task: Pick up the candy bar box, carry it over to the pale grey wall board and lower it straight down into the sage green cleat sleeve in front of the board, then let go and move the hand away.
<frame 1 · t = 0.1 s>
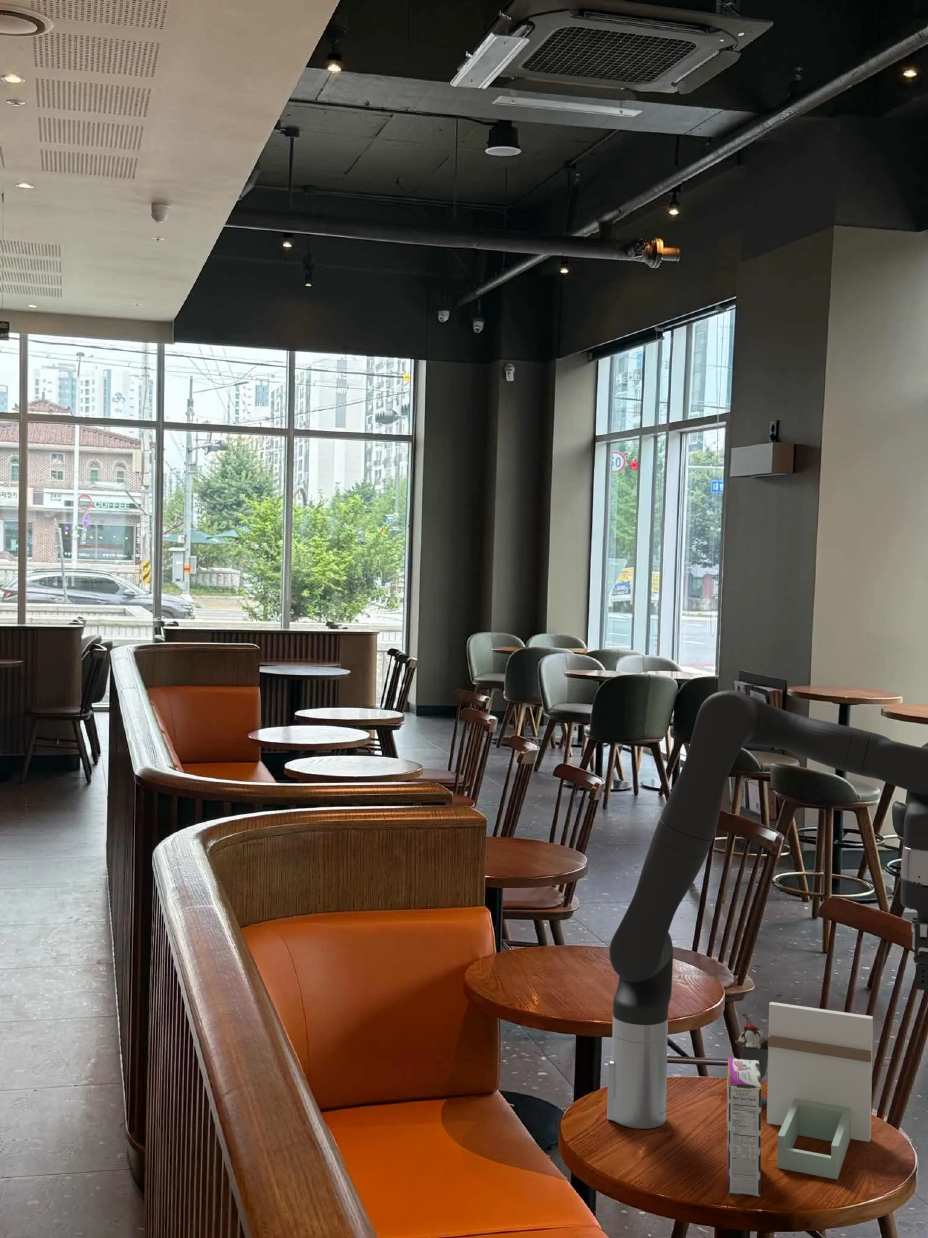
hand: (924, 982, 188), 29 cm above the table, tool pointing down, fingers open, 8 cm apart
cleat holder: (814, 1154, 193), on the table
candy bar box: (742, 1181, 184), on the table
sundae: (753, 1101, 215), on the table
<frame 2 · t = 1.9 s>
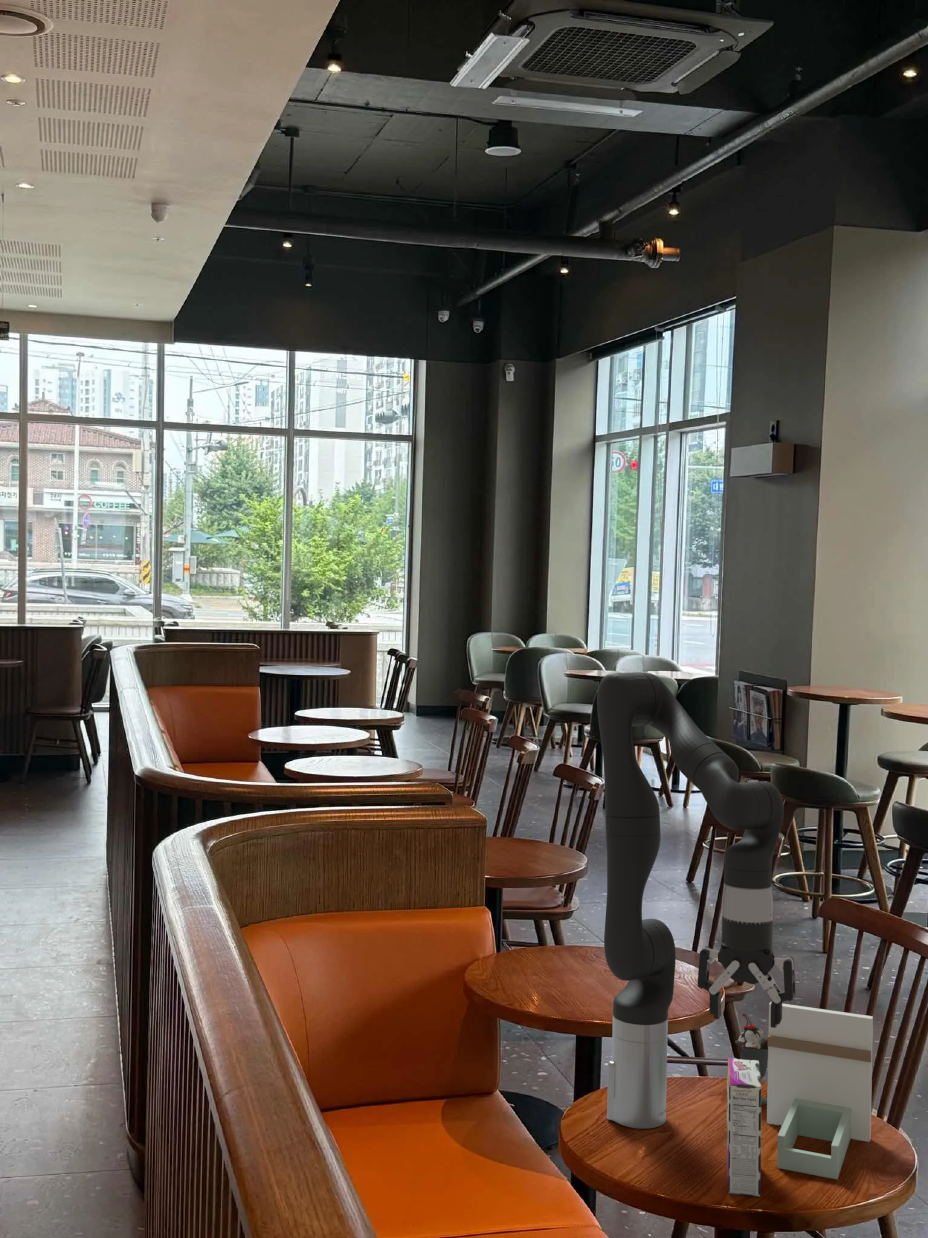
hand: (745, 1022, 184), 24 cm above the table, tool pointing down, fingers open, 8 cm apart
nothing on the table moved.
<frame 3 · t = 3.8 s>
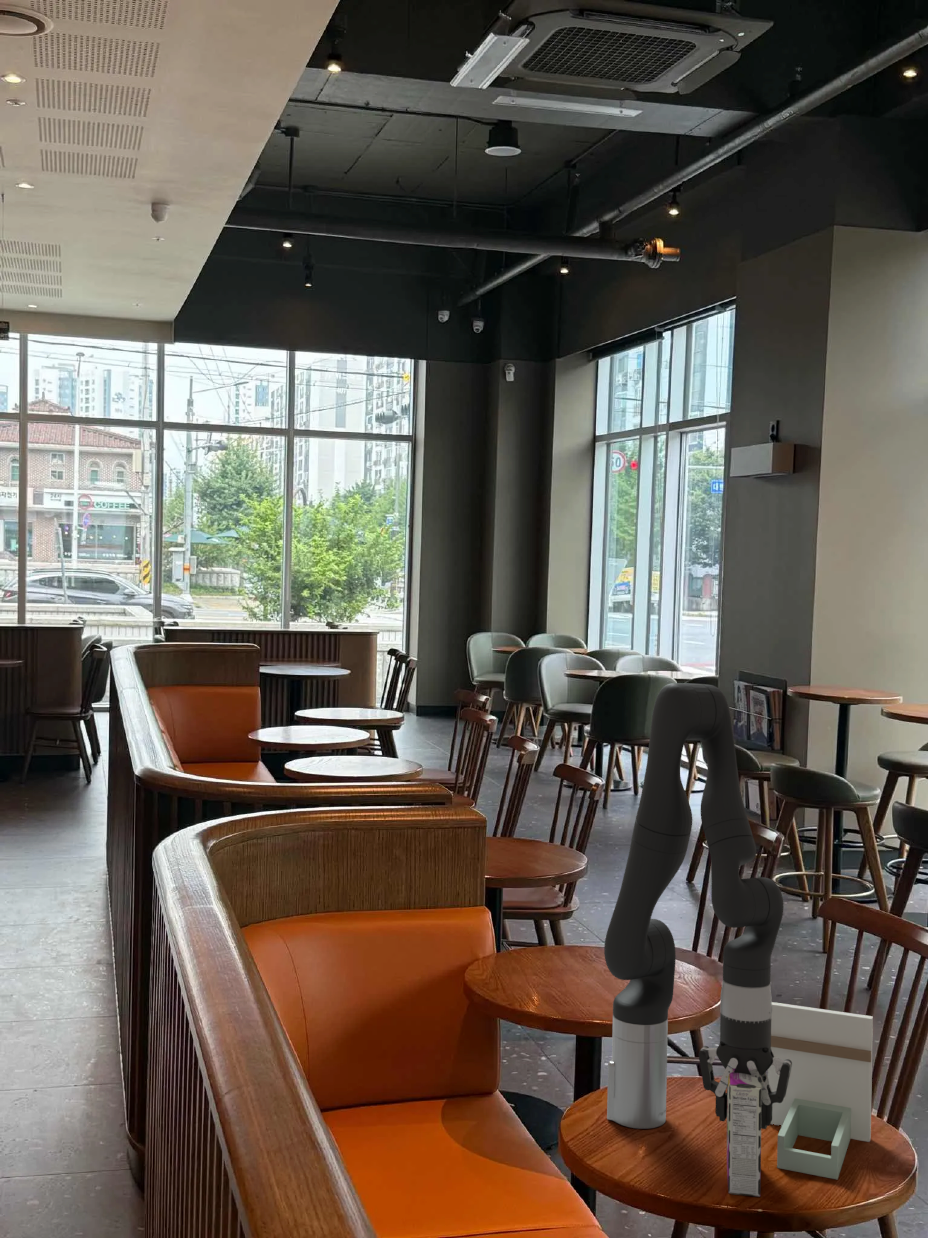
hand: (743, 1123, 184), 9 cm above the table, tool pointing down, fingers closed on candy bar box, 5 cm apart
candy bar box: (742, 1181, 184), on the table, touching gripper
everything else where it was.
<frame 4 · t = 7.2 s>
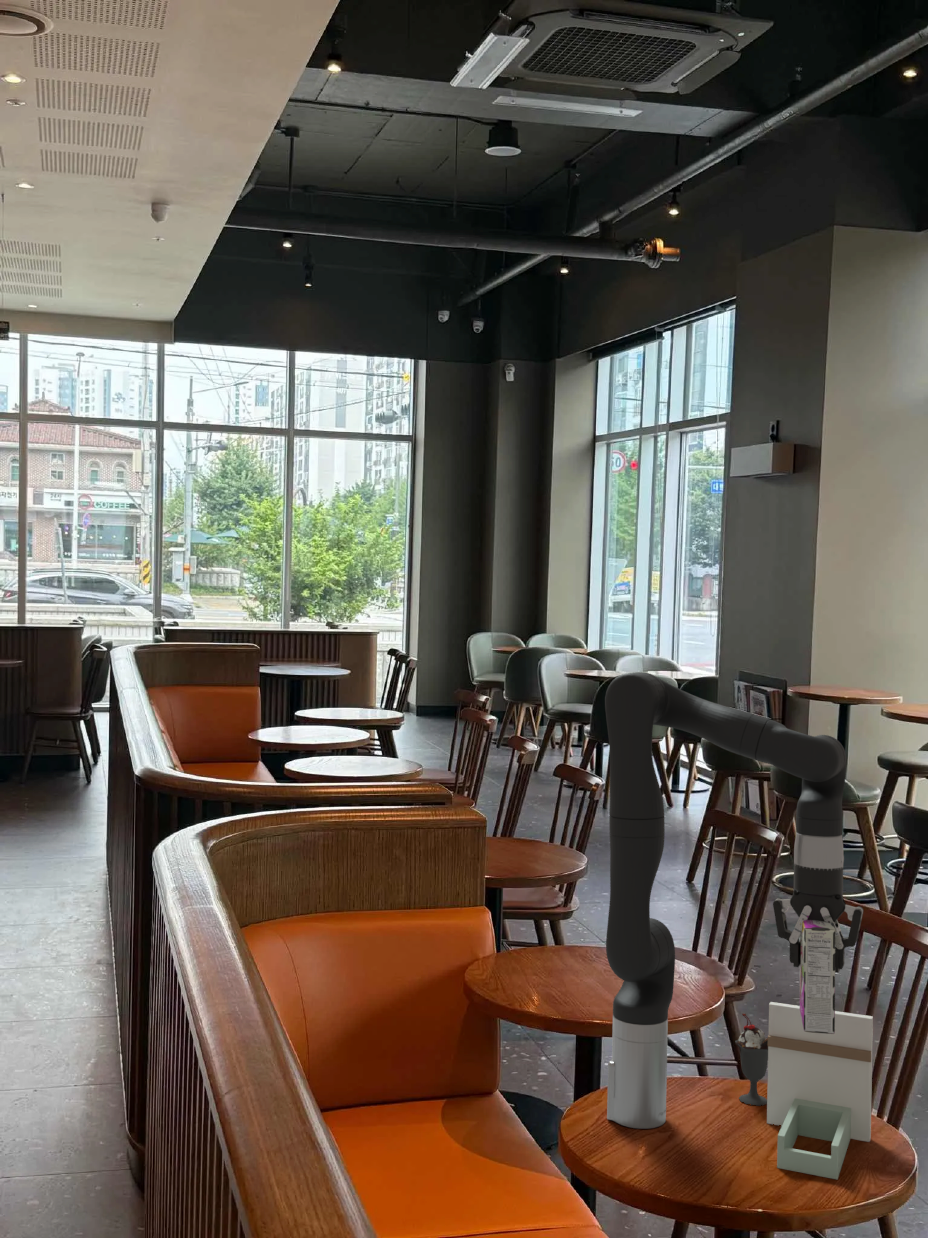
hand: (816, 968, 193), 30 cm above the table, tool pointing down, fingers closed on candy bar box, 5 cm apart
candy bar box: (815, 1024, 193), point 21 cm above the table, touching gripper
everything else where it was.
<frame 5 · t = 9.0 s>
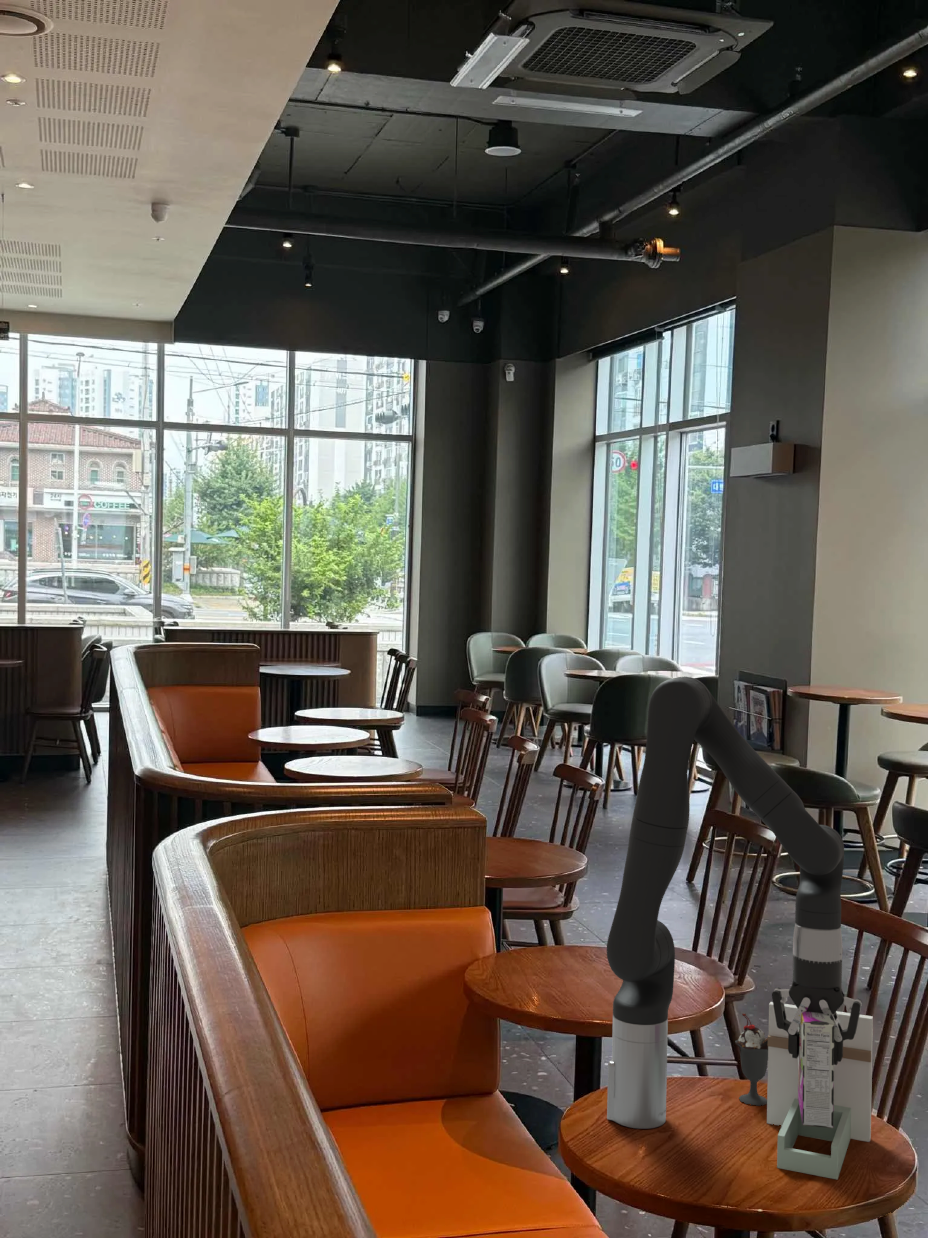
hand: (815, 1059, 193), 15 cm above the table, tool pointing down, fingers closed on candy bar box, 5 cm apart
candy bar box: (814, 1115, 193), point 6 cm above the table, touching gripper
everything else where it was.
when the fingers open (10 cm above the table, at t = 10.5 s): candy bar box drops 1 cm, resting in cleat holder.
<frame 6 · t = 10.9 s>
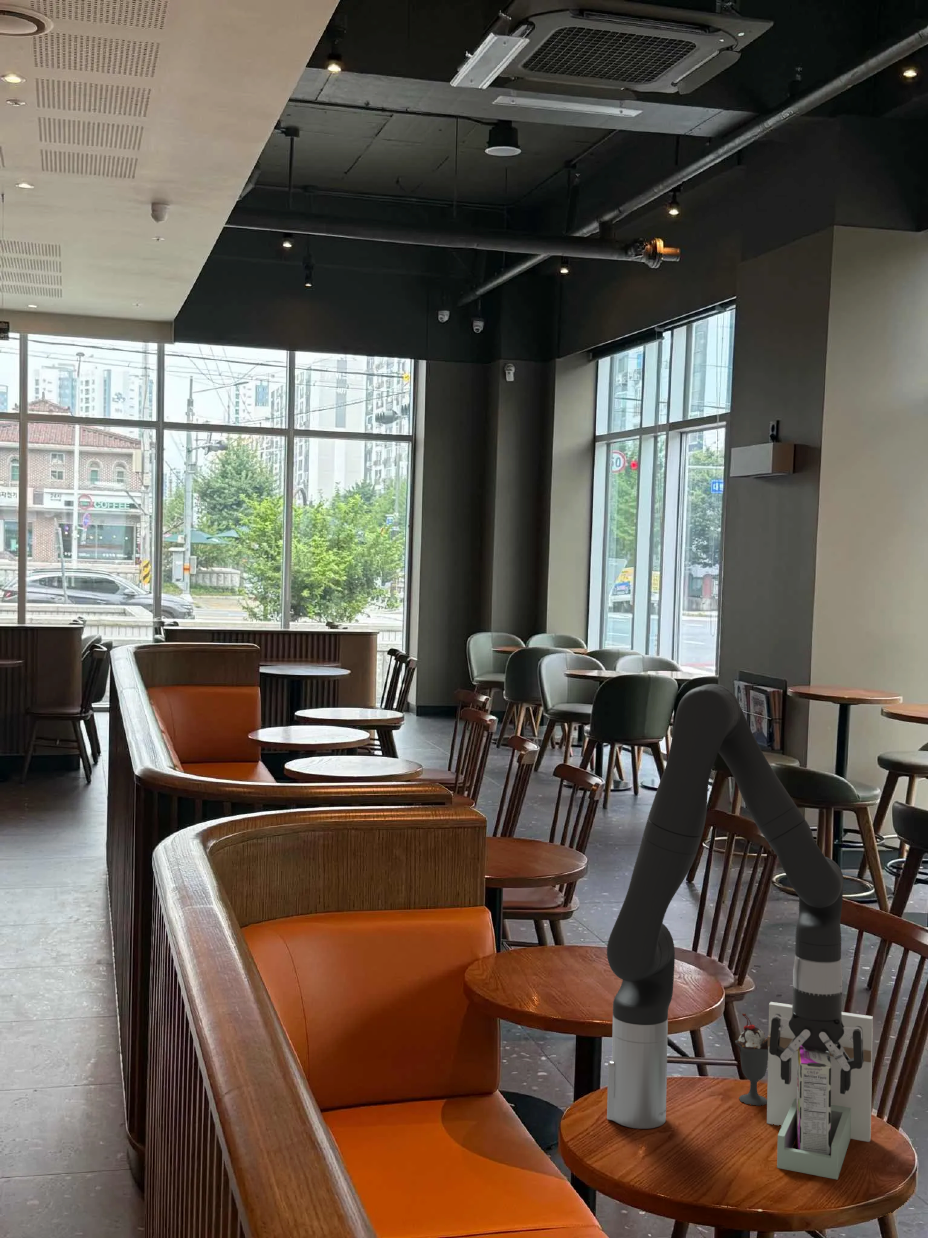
hand: (815, 1087, 193), 11 cm above the table, tool pointing down, fingers open, 8 cm apart
candy bar box: (812, 1156, 193), resting in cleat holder
everything else where it was.
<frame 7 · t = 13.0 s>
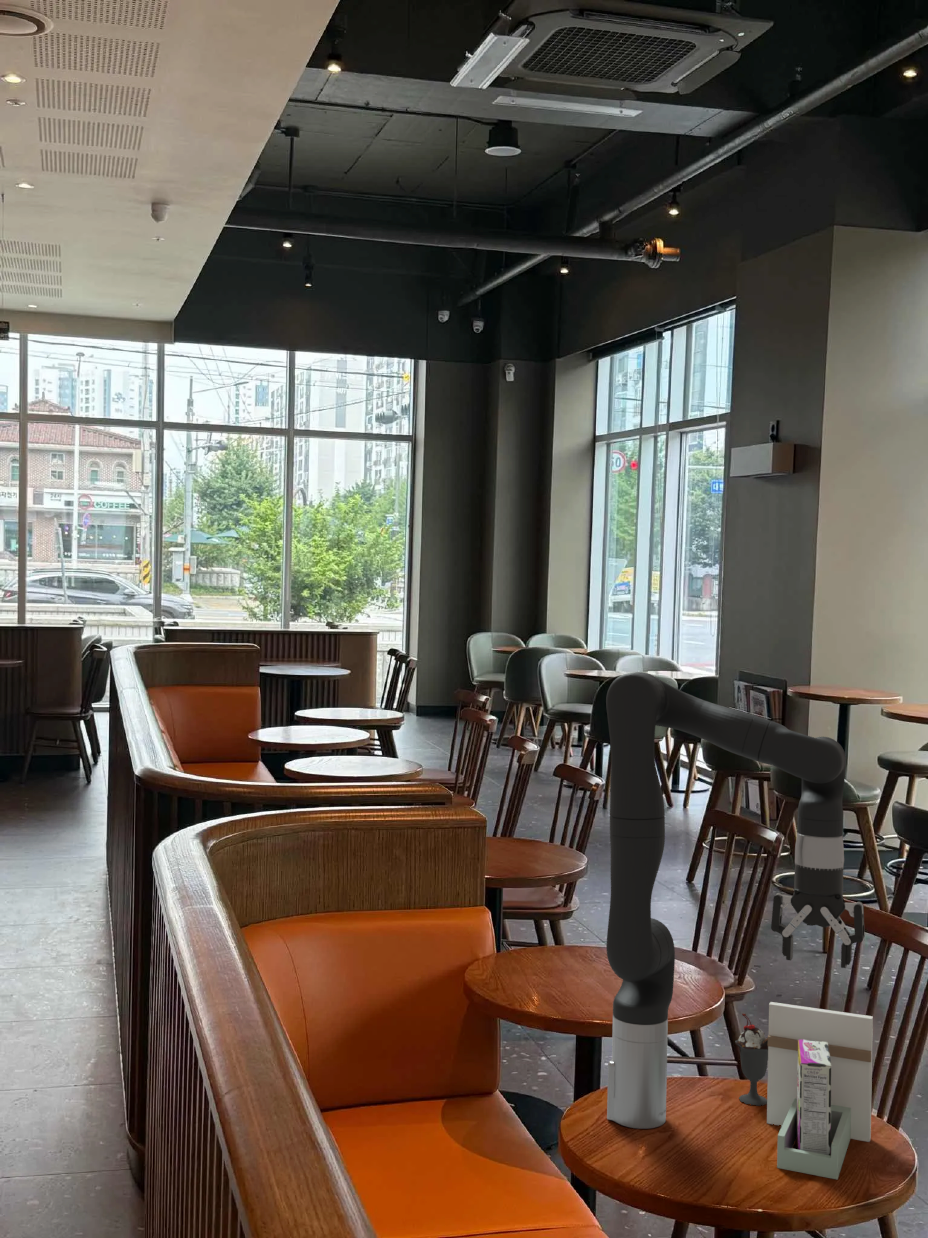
hand: (816, 963, 196), 30 cm above the table, tool pointing down, fingers open, 8 cm apart
nothing on the table moved.
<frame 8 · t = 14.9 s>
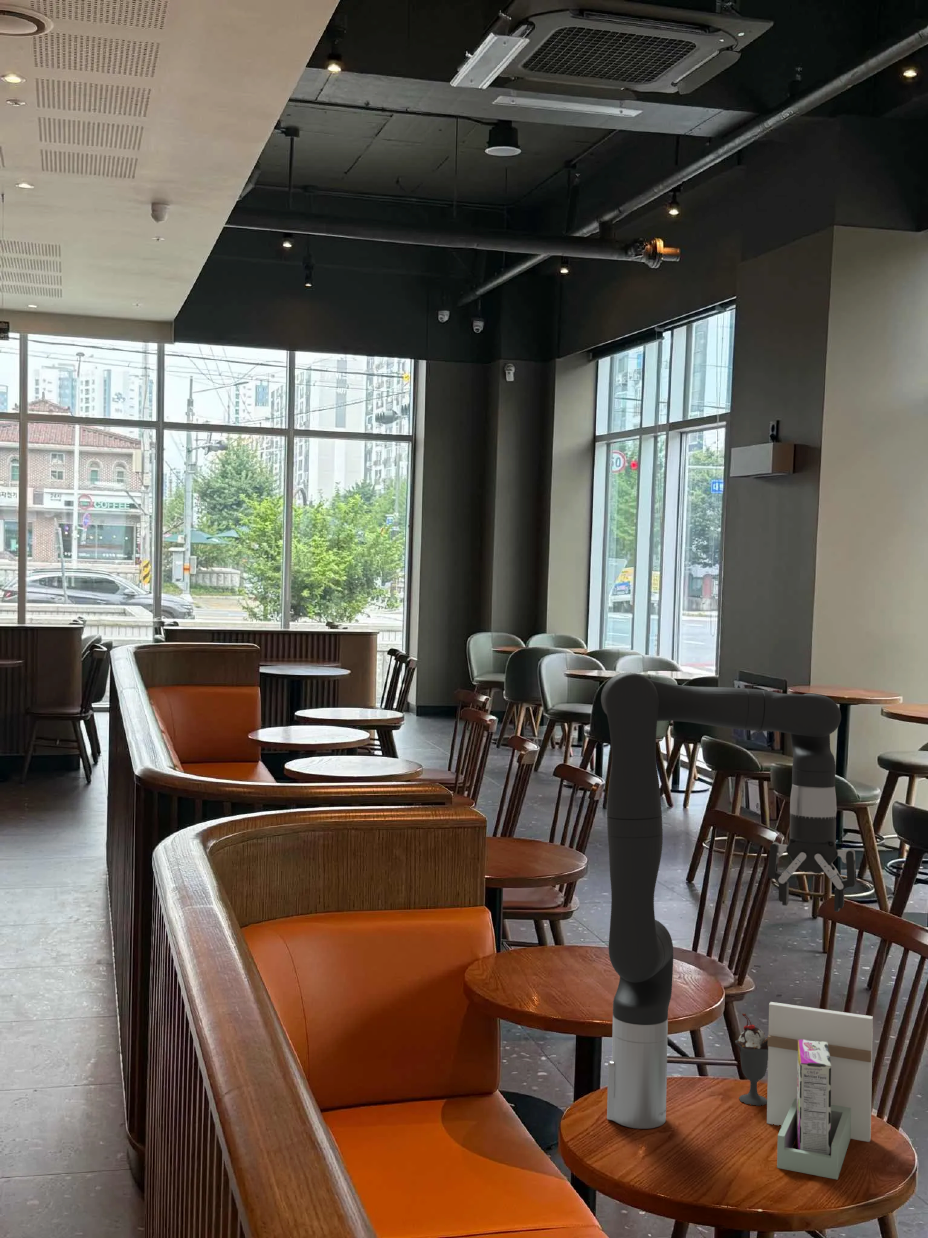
hand: (811, 907, 206), 36 cm above the table, tool pointing down, fingers open, 8 cm apart
nothing on the table moved.
at the end: candy bar box 0.2 cm off-centre on the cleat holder, point 0.0 cm above the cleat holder's base; candy bar box tilted 0°; the gripper is holding nothing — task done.
